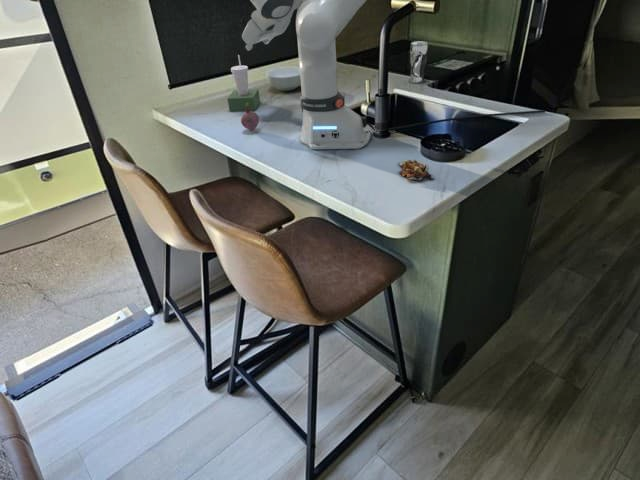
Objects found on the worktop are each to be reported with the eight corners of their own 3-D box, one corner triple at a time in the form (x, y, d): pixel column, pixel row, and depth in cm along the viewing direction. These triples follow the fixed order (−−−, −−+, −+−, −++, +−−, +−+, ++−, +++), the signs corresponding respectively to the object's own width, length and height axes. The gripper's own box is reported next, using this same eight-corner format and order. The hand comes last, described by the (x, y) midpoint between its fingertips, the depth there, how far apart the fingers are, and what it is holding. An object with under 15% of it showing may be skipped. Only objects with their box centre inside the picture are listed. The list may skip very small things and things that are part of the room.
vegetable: (240, 134, 147) (235, 105, 141) (245, 127, 152) (240, 99, 146) (258, 134, 146) (253, 105, 140) (262, 127, 151) (258, 99, 145)
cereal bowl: (302, 94, 178) (300, 76, 174) (263, 94, 181) (261, 77, 176) (310, 82, 191) (309, 65, 187) (274, 82, 194) (272, 65, 190)
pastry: (414, 160, 123) (414, 149, 121) (434, 179, 114) (436, 167, 112) (391, 165, 122) (391, 153, 120) (410, 184, 112) (411, 172, 110)
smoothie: (248, 96, 164) (242, 57, 156) (232, 96, 165) (225, 57, 157) (254, 91, 169) (248, 53, 161) (238, 91, 170) (232, 53, 162)
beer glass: (421, 84, 179) (424, 45, 170) (405, 82, 182) (407, 44, 173) (427, 79, 183) (430, 41, 175) (411, 78, 186) (414, 40, 178)
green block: (260, 101, 173) (258, 89, 171) (255, 110, 165) (253, 97, 162) (235, 102, 174) (233, 90, 172) (229, 111, 166) (227, 98, 163)
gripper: (287, 2, 147) (269, 32, 157) (249, 13, 134) (231, 45, 144) (299, 17, 148) (280, 45, 158) (262, 29, 134) (243, 60, 144)
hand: (256, 45), depth 151 cm, fingers open, 8 cm apart
